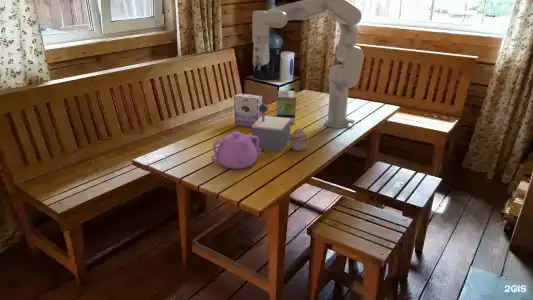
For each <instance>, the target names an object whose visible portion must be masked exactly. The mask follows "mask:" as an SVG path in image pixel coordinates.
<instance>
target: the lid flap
mask: <svg viewBox="0 0 533 300" xmlns="http://www.w3.org/2000/svg"><path fill="white" fill-rule="evenodd" d="M259 110H260V112H262V117H260V118H259V119H258V120H257V121H256V122H255V123H254V124H253V125H252V128H261V129H270V130H279V131H282V130H283V128H284V127H285V126H286V125H287V124H288V122H289V121H290V119H291V118H281V117H277V116H270V115H265V113H266V112H268V105H267V104H265V103H262V104H261V105H260V106H259ZM252 128H251V129H252Z"/></svg>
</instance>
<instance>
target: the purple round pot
mask: <svg viewBox="0 0 533 300" xmlns="http://www.w3.org/2000/svg"><path fill="white" fill-rule="evenodd" d="M252 138H256V140H257V141H256V146H254V144H253V142H252ZM217 145H218V147H217ZM258 146H259V138H258V137H257V136H254V135H252V134H251V135H247V134H245V133H241V132H240V131H232V132H231V133H229V134H227V135H225V136H224V137H223V138H222V139H221V140H217V141H214V142H213V144H212V150H213V155H212V156H211V157H210V159H211V162H213V163H217V162H218V163H219V164H220V165H221V166H222V167H224V168H226V169H231V170H240V169H241V170H242V169H246V168H249V167H250V166H252V165H253V164H254V163H255V162H256V160H257V158H258V156H260V155H261V154H262V149H260V148H258ZM216 147H217V148H216Z"/></svg>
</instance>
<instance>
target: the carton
mask: <svg viewBox="0 0 533 300" xmlns="http://www.w3.org/2000/svg"><path fill="white" fill-rule="evenodd" d="M290 123H291V120H290V121H289V122H288V124H287V125H286V126H285V127H284V128H283V130H282V131H279V130H270V129H261V128H251V136H252V135H254V136H257V137H258V138H259V146H258V148H260V149H261V151H263V150H264V151H271V152H278V153H279V152H280V153H281V152H283V150H284V148H285V147H286V146H287V145H288V144H289V143H290V142H289V138H290V137H291V124H290ZM251 141H252V142H253V144H254V146H256V141H257V140H256V138H252V139H251Z"/></svg>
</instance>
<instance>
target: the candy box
mask: <svg viewBox="0 0 533 300" xmlns="http://www.w3.org/2000/svg"><path fill="white" fill-rule="evenodd" d="M233 102H234V103H233V104H234V125H235V126H237V127H244V128H250V129H252V125H253V124H254V123H255V122H256V121H257V120H258V119H259V118H260V117H262V112H260V110H259V106H260V105H261V104H263V95H257V94H248V93H247V94H246V93H239V92H238V93H237V94H235V95H234V96H233Z"/></svg>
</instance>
